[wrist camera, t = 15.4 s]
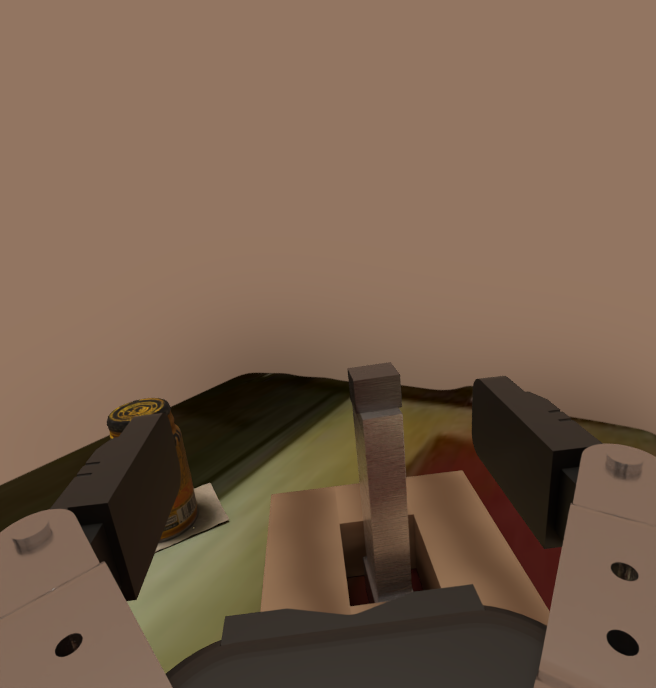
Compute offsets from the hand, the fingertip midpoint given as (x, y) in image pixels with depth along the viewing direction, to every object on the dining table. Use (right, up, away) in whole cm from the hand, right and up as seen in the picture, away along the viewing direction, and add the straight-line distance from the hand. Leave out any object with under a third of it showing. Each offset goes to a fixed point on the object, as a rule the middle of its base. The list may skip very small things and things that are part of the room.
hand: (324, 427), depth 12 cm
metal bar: (+4, -16, +19) cm, 26 cm away
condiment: (-14, -15, +31) cm, 37 cm away
